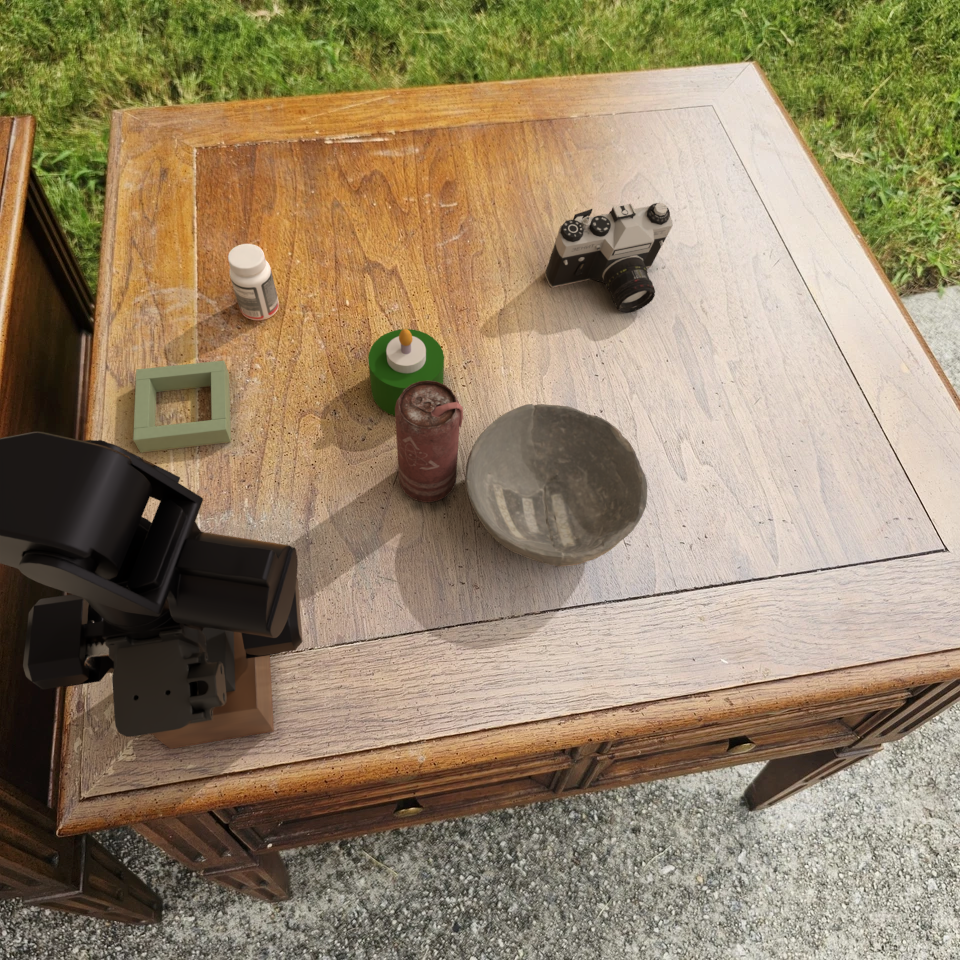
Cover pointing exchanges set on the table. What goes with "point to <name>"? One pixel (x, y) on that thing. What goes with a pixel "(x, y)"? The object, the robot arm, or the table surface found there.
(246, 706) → the block
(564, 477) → the bowl
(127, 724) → the robot arm
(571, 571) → the table surface
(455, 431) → the can
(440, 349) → the candle
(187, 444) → the green square frame
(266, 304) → the pill bottle
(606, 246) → the camera
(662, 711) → the table surface
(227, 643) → the black block
